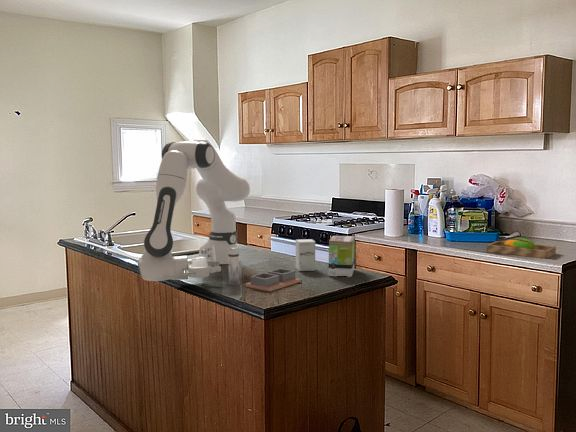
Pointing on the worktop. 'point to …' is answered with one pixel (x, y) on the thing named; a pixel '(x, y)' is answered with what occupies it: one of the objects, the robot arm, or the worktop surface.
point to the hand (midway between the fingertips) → (220, 265)
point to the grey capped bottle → (233, 266)
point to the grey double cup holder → (273, 280)
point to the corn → (520, 243)
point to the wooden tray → (522, 250)
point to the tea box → (341, 256)
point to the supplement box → (305, 255)
